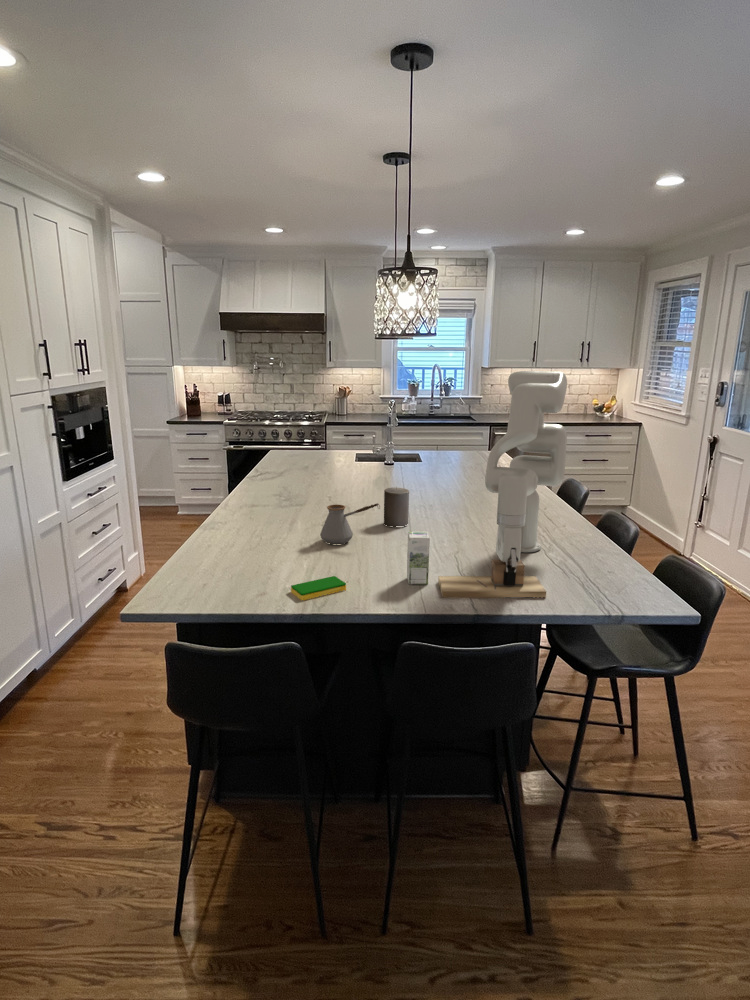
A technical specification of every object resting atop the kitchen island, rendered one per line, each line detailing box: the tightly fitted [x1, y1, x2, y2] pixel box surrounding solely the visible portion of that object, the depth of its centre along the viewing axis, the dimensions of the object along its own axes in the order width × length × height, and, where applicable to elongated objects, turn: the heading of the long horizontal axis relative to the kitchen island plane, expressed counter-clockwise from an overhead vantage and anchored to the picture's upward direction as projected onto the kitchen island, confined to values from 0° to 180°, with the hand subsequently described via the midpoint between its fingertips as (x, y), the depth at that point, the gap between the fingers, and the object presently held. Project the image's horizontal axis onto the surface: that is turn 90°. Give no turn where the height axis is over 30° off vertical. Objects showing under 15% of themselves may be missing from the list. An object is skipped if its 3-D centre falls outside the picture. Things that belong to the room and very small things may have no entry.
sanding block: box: [490, 559, 526, 586], centre depth 160 cm, size 4×8×6 cm, turn 90°
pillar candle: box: [383, 486, 410, 527], centre depth 222 cm, size 10×10×15 cm
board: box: [437, 575, 547, 599], centre depth 161 cm, size 11×28×2 cm, turn 90°
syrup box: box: [406, 531, 431, 586], centre depth 165 cm, size 6×6×14 cm
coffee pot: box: [319, 503, 381, 545], centre depth 199 cm, size 21×12×15 cm, turn 76°
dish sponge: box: [290, 575, 347, 601], centre depth 160 cm, size 7×14×2 cm, turn 122°
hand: (507, 580), depth 161 cm, fingers closed on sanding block, 4 cm apart
